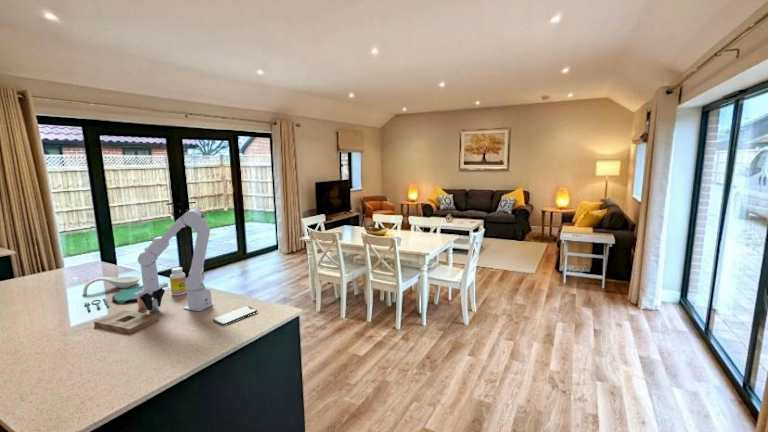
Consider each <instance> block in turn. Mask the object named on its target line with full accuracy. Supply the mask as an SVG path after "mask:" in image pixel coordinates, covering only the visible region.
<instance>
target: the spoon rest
mask: <svg viewBox="0 0 768 432" xmlns="http://www.w3.org/2000/svg"><path fill="white" fill-rule="evenodd" d="M100 281H103V282H106V283H108V284H110V285H112V286H114V287H117V288H118V289H126V288H127V289H129V288H131V287H133V286H136V284H138V282H139V281H141V280H140V277H139V276H117V277H116V276H115V277H111V276H102V277H101V276H100V277H95V278H93V279H91V280H88V281H87V282H86V283H85V284H84V287H83V295H84V296H86V295H88V288H89V286H90V285H92V284H94V283H95V282H100Z"/></svg>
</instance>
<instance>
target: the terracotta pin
mask: <svg viewBox="0 0 768 432" xmlns="http://www.w3.org/2000/svg"><path fill="white" fill-rule="evenodd" d="M136 301H137V308H138V311H144V310H147V308H146V306H145V304H144V302H143V301H142V300H141V299H140V298H137V300H136Z"/></svg>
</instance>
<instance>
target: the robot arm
mask: <svg viewBox="0 0 768 432" xmlns="http://www.w3.org/2000/svg"><path fill="white" fill-rule="evenodd" d="M186 227H190V228H192V229H193V230H194V231H195V232H196V233H197V234H196V239H195V246H194V249H193V255H192V259H191V265H190V269H189V272H188V276H187V277H186V280H185V287H186V289H187V292H186V296H187V297H186V298H187V305H186V306H184V307H183V309H184V310H189V311H196V312H202V311H204V310H205V309H208V308H210V307H212V306H214V303H213V302H212V301H213V299H212V293H211V290H210V289H208V288H206V287H205V284H204V282H203V281H204V280H205V274H204V270H205V268H204V266H205V265H204V264H205V258H206V255H207V254H206V253H207V249H208V244H209V238H210V234H211V227H210V225H209V223H208V220H207V219H206V215H205V213H204V212H202V211H201V210H200V209H198V208H192V209H190V210H188V211H186V212H185V213H183V214H182V215H181V216H180V217H179V218H178V219H176V220H175V221H174V222H173V224H172V225H171V226H170V227H169V228H168V229H167V230H166V232H164V234H163V235H162V236H157V237H154V238H153V239H152V240H151V243H150V244H149V245H148V246H147V247H145V248H144V250H143V252H140V253H139V256H138V257H137V263H138V264H139V265H140V273H141V279H142V286H143V289H142V290H140V291H138V292H136V293H134V298H140V299H141V300H142V301H143V302H144V304H145V306H146V308H147V309H146V310H147V311H149V310H152V297H157V298H158V307H159V308H160V307H161V304H162V300H163V296H164V294H165V292H166V290H165V288H168V287H169V282H161V283H159V275H158V266H157V260H158V257H159V256H161V255H162V253H163V252H165V250H166V249H167V248H168V247H169V246H170V241H171V239H172V238H173V237H174V236H176V234H177V233H178V232H179V231H180V230H181V229H182V228H186ZM149 293H153V295H150V294H149Z"/></svg>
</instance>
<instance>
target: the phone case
mask: <svg viewBox="0 0 768 432" xmlns="http://www.w3.org/2000/svg"><path fill="white" fill-rule="evenodd" d="M256 312H257V313H258V310H257V309H255V308H253V307H251V306H248V305H246V306H243V307H240V308H237V309H234V310H232V311H229V312H227V313H224V314H221V315H218V316H217V317H214V318H213V319H212V322H213V321H214V322H213V323H215V322H216V323H215V324H217V323H218V324H217V325H219V324H220V325H219V326H221V325H226V324H228V325H230V324H229V323H231V322H233V321H236V320H238V319H241V318H243V317H246V316H248V315H250V314H253V313H256ZM257 313H256V314H257ZM246 318H247V317H246ZM241 320H242V319H241ZM236 322H237V321H236ZM231 324H232V323H231ZM226 326H227V325H226Z"/></svg>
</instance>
